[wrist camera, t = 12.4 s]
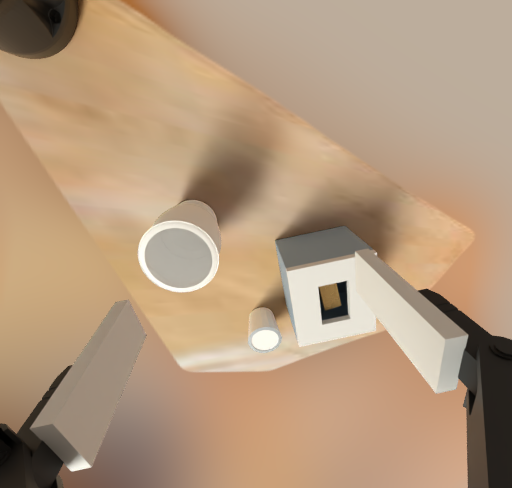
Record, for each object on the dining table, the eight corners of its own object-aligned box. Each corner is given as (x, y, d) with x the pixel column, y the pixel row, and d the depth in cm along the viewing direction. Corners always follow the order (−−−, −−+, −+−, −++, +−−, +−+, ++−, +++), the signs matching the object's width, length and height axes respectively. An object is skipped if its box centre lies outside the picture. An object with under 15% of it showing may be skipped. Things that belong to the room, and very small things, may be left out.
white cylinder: (274, 302, 55) (280, 324, 49) (277, 326, 58) (283, 350, 52) (244, 307, 55) (245, 330, 49) (248, 331, 58) (250, 355, 52)
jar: (156, 201, 44) (122, 232, 30) (213, 187, 44) (204, 211, 30) (177, 253, 49) (156, 301, 35) (229, 240, 48) (228, 283, 35)
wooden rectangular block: (304, 259, 51) (318, 284, 42) (318, 254, 50) (335, 278, 42) (310, 283, 53) (325, 310, 45) (324, 278, 53) (341, 305, 45)
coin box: (274, 240, 49) (287, 271, 38) (344, 225, 49) (377, 252, 38) (286, 304, 56) (299, 346, 45) (347, 291, 56) (375, 330, 45)
